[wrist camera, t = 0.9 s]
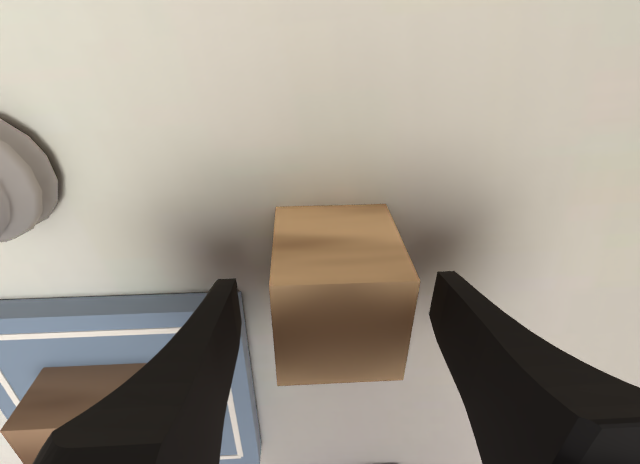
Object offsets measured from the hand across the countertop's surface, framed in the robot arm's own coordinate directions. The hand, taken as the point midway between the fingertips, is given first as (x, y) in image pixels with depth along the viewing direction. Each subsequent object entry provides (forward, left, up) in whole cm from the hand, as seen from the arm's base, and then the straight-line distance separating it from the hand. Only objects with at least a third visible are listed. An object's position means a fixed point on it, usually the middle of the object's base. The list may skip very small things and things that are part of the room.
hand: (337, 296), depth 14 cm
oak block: (0, 0, -3) cm, 3 cm away
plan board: (-8, +10, -3) cm, 13 cm away
